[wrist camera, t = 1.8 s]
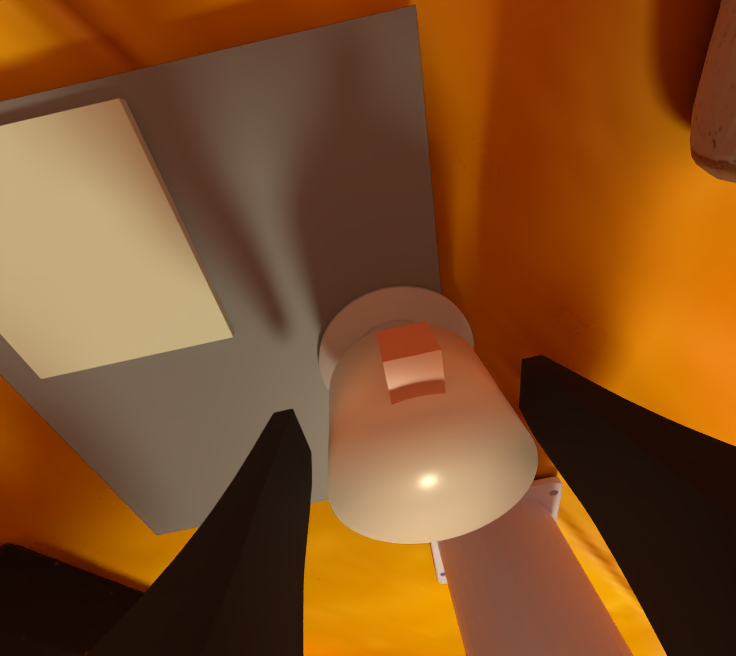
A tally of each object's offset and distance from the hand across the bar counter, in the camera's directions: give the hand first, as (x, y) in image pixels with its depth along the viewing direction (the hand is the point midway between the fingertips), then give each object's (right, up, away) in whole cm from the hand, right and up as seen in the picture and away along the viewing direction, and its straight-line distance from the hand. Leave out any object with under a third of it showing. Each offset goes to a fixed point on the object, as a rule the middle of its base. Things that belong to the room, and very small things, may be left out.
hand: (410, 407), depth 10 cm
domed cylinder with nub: (0, 0, +1) cm, 1 cm away
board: (-6, +1, +3) cm, 7 cm away
